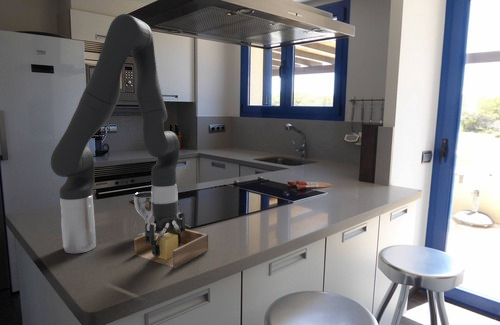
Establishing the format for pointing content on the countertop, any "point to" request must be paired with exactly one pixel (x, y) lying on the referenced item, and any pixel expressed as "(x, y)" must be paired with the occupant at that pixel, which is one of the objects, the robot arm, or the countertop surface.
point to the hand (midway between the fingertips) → (166, 250)
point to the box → (186, 251)
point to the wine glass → (144, 205)
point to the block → (168, 245)
